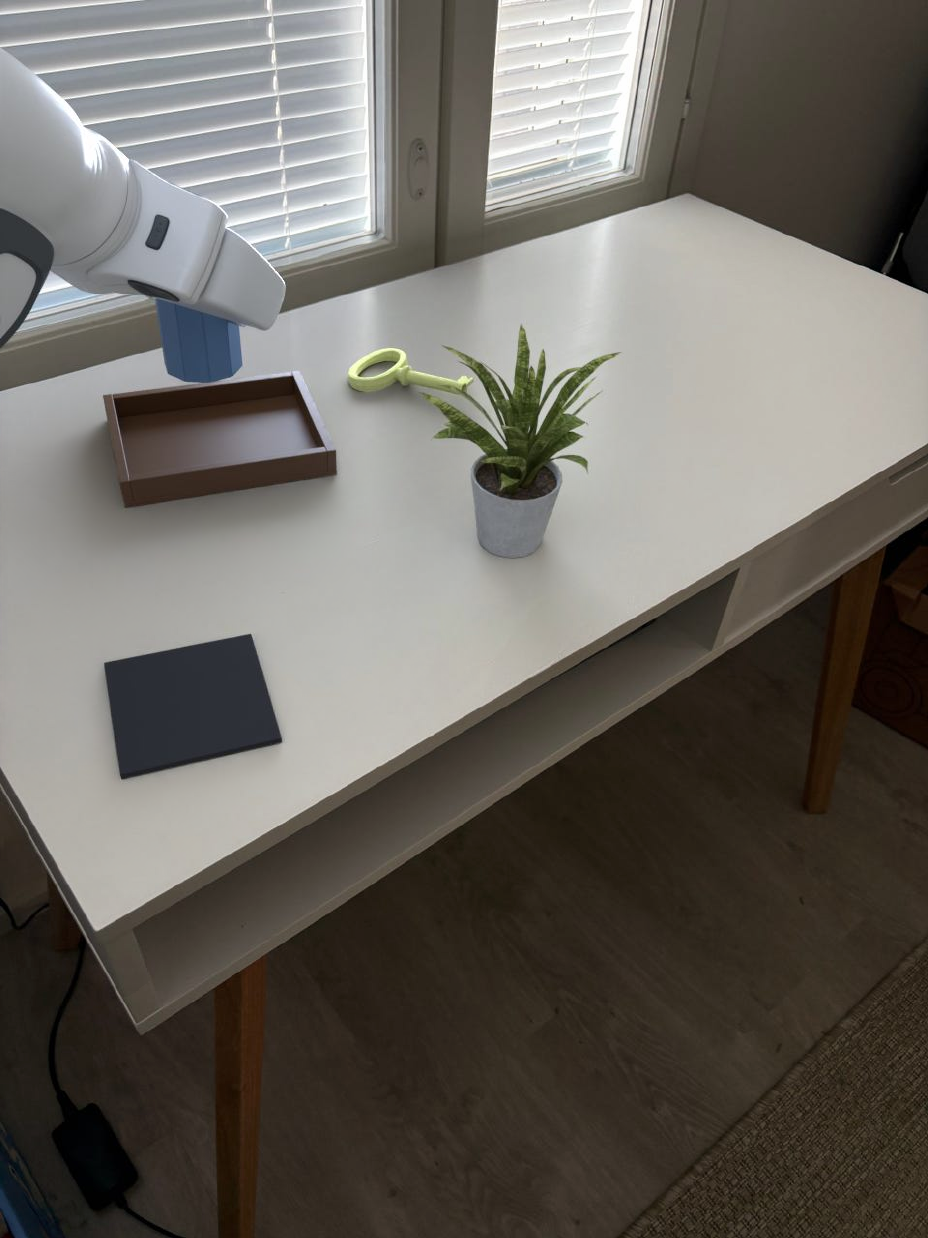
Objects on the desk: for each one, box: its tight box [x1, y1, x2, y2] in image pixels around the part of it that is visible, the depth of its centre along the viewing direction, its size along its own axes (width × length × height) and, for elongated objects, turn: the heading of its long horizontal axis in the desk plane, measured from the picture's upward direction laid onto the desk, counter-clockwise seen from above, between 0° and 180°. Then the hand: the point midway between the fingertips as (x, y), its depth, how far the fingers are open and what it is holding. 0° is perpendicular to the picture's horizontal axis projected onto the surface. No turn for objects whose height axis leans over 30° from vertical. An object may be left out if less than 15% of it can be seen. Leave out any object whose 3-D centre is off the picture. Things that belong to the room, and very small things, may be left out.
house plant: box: [418, 323, 623, 559], centre depth 77 cm, size 14×14×16 cm
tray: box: [102, 370, 338, 508], centre depth 88 cm, size 18×14×2 cm
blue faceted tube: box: [154, 298, 243, 384], centre depth 79 cm, size 6×6×9 cm
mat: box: [103, 633, 283, 780], centre depth 67 cm, size 10×10×1 cm
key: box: [347, 347, 474, 396], centre depth 98 cm, size 7×12×2 cm, turn 80°
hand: (202, 303), depth 80 cm, fingers closed on blue faceted tube, 6 cm apart
